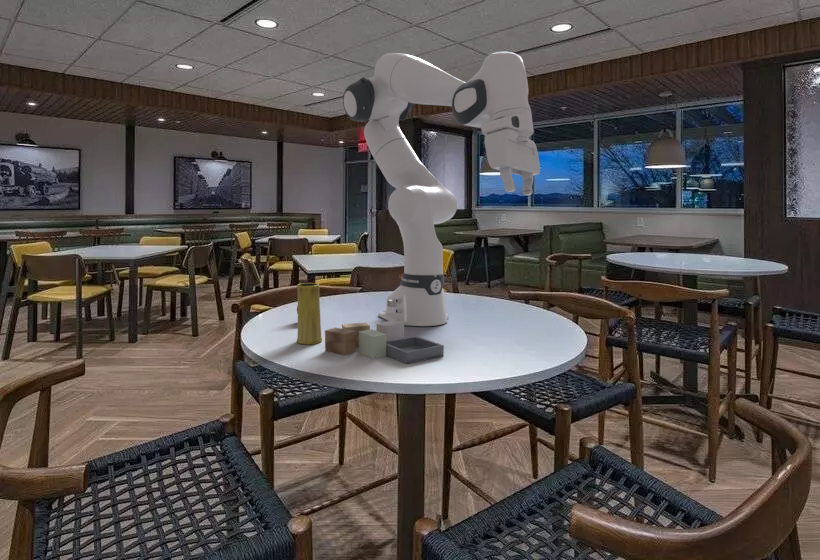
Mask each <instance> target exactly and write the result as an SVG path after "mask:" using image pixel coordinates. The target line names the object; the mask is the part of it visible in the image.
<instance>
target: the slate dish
mask: <svg viewBox="0 0 820 560" xmlns="http://www.w3.org/2000/svg"><path fill="white" fill-rule="evenodd" d="M444 347H445V345H444V344H441V343H438V342H435V341H432V340H430V339H427V338H426V339H425V338H423V337H420V336H417V335H414V336H409V337H404V338H402V339H397V340H391V341H386V356H385V357H389V358H392V359H394V360H396V361H399V362H401V363H404V364H406V365H409V364H413V363H418V362H423V361H428V360H432V359H437V358H441V357H444V351H445V350H444Z"/></svg>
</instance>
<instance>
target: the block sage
mask: <svg viewBox="0 0 820 560" xmlns="http://www.w3.org/2000/svg"><path fill="white" fill-rule="evenodd" d="M358 353H360V354H362V355H364V356H367V357H369V358H370V359H378V358H383V357H387V356H386V334H383V333H381V332H378V331H377V330H375V329H371V328H370V330H365V331H359V347H358Z"/></svg>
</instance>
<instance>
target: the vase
mask: <svg viewBox="0 0 820 560" xmlns="http://www.w3.org/2000/svg"><path fill="white" fill-rule="evenodd" d="M296 289H297V290H296V291H297V306H298V314H297V338H296V342H297V343H298V344H300V345H304V346H305V345H316V344H319V343H321V342H322V341H323V339H322V327H321V324H322V323H321V304H320V303H321V302H320V284H319V283H316V282H302V283H298V284H297V286H296Z"/></svg>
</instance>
